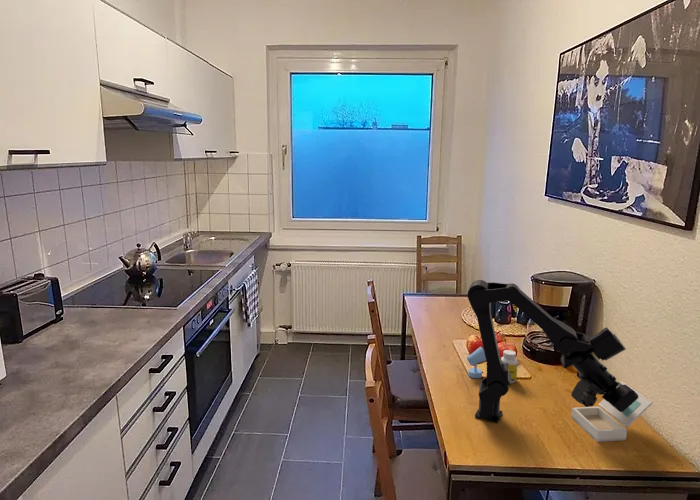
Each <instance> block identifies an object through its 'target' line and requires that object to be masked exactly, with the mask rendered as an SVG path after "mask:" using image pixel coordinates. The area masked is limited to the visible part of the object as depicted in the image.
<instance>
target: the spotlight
mask: <svg viewBox="0 0 700 500" xmlns="http://www.w3.org/2000/svg"><path fill="white" fill-rule="evenodd" d="M466 360H467V362H468V363H469V365H470V366H473V365H474V367H471V368H469V369H468V377H469V378H471V379H481V378H482V377H483V371H482V369H480V368H478V367H477V366H478V365H477V364H480V363H483V362H486V357H485V353H484V348H483V347H482V346H479V347H478V348H477V349H475V350H474V351H473V352H472V353H470V354H469V355H468V356H467V357H466Z"/></svg>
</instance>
